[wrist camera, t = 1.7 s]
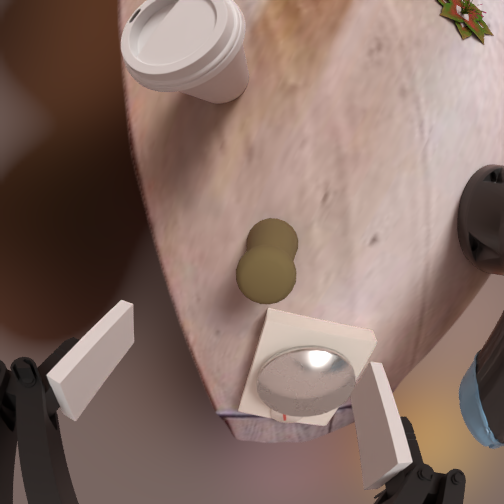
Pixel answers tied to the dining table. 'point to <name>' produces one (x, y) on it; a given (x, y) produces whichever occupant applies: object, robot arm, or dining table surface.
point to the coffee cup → (188, 48)
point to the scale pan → (306, 381)
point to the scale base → (301, 334)
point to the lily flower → (472, 25)
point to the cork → (268, 262)
